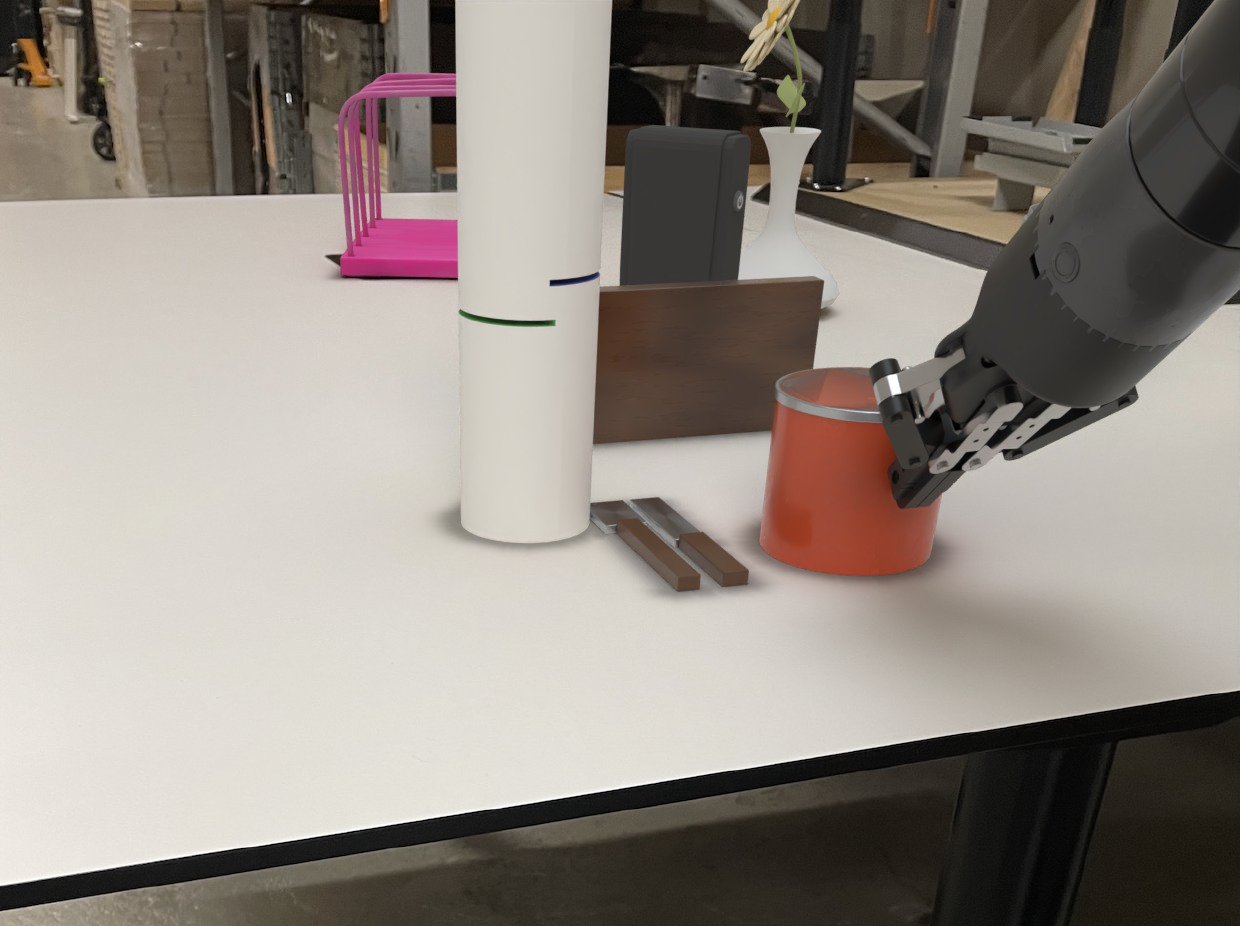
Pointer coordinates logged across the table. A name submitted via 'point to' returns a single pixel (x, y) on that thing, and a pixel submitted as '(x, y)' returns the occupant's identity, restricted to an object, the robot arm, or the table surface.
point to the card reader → (683, 205)
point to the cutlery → (676, 532)
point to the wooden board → (699, 355)
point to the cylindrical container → (529, 260)
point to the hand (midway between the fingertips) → (906, 490)
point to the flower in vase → (783, 170)
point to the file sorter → (382, 239)
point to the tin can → (837, 481)
